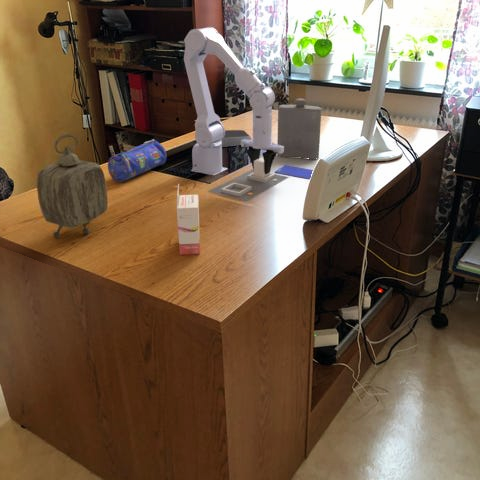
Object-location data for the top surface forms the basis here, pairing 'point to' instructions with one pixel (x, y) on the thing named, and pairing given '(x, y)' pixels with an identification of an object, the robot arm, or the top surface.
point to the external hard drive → (234, 137)
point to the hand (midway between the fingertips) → (261, 171)
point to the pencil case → (136, 160)
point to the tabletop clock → (71, 190)
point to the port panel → (247, 185)
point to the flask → (299, 130)
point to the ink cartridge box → (188, 223)
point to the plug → (259, 168)
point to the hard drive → (295, 171)
